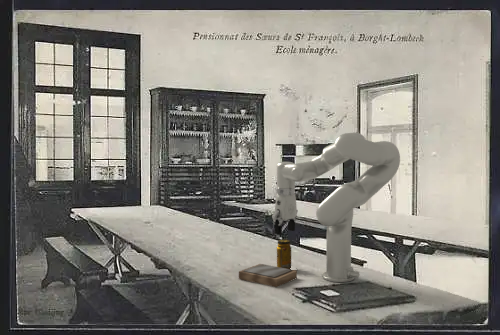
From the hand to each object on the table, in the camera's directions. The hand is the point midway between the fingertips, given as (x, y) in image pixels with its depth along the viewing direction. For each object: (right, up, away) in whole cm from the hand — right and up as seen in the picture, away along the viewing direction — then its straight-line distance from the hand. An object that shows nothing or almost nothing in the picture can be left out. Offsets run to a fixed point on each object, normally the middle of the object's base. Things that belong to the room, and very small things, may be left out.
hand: (284, 232), depth 233 cm
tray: (-7, -17, -13) cm, 22 cm away
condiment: (+1, -16, +1) cm, 16 cm away
